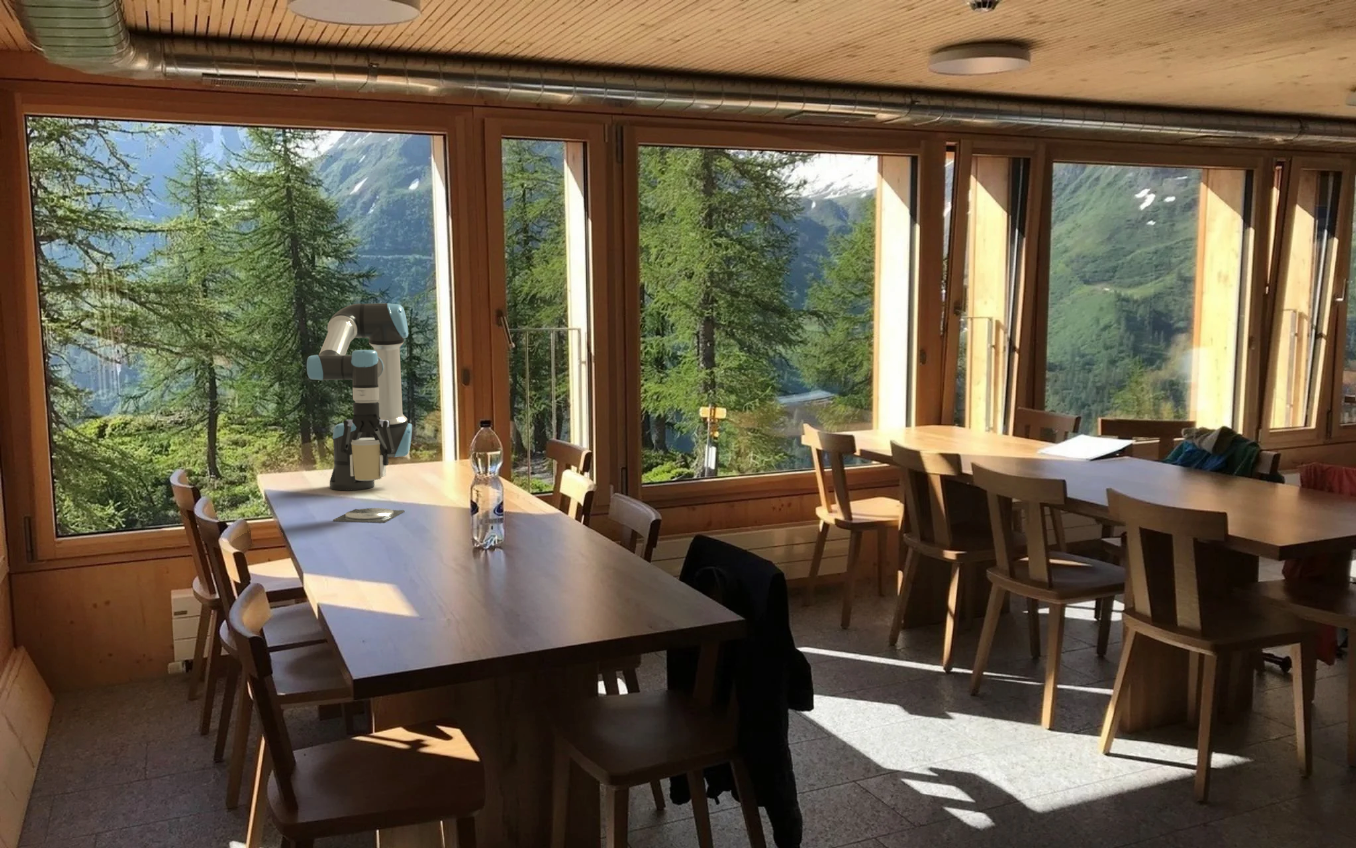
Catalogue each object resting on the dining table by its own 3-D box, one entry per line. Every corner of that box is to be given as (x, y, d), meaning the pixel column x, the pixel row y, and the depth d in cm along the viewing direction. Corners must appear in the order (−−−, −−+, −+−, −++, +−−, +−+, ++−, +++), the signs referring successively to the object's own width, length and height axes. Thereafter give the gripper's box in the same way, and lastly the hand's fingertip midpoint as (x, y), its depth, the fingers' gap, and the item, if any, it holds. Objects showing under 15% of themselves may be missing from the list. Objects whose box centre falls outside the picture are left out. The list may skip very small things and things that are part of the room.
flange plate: (355, 510, 327) (355, 506, 327) (404, 511, 326) (404, 508, 326) (333, 521, 312) (333, 517, 311) (385, 522, 310) (384, 518, 310)
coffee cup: (389, 476, 321) (387, 437, 320) (377, 481, 312) (376, 441, 311) (359, 475, 322) (358, 437, 321) (347, 480, 313) (345, 441, 312)
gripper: (326, 402, 312) (329, 477, 315) (395, 403, 310) (397, 478, 312) (337, 399, 319) (339, 473, 322) (404, 400, 317) (406, 474, 320)
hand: (368, 475), depth 317 cm, fingers closed on coffee cup, 9 cm apart
